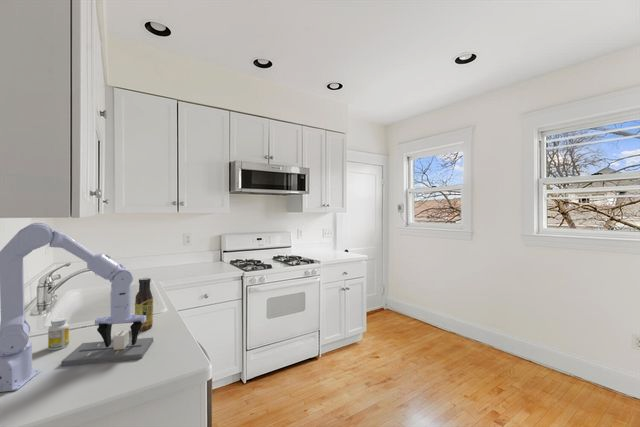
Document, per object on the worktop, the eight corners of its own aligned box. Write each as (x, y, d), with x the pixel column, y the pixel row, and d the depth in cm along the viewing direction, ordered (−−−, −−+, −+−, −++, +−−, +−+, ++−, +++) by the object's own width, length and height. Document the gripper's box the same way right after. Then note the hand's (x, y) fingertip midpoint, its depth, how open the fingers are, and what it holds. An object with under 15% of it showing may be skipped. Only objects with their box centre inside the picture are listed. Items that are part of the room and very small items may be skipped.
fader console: (141, 358, 96) (141, 353, 96) (61, 366, 91) (61, 360, 91) (153, 341, 108) (153, 337, 107) (82, 347, 102) (82, 342, 102)
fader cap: (123, 348, 98) (123, 335, 98) (113, 349, 98) (113, 335, 97) (128, 343, 102) (128, 329, 102) (118, 344, 101) (118, 330, 101)
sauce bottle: (144, 332, 115) (144, 281, 114) (130, 330, 116) (130, 280, 115) (157, 325, 121) (156, 277, 120) (143, 324, 122) (143, 276, 122)
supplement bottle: (53, 352, 99) (53, 323, 99) (45, 348, 101) (44, 320, 101) (72, 345, 104) (72, 318, 104) (63, 342, 106) (63, 315, 106)
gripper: (149, 299, 105) (149, 337, 105) (101, 301, 102) (102, 341, 102) (142, 306, 98) (142, 346, 98) (91, 309, 95) (91, 351, 95)
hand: (121, 344), depth 100 cm, fingers open, 7 cm apart
